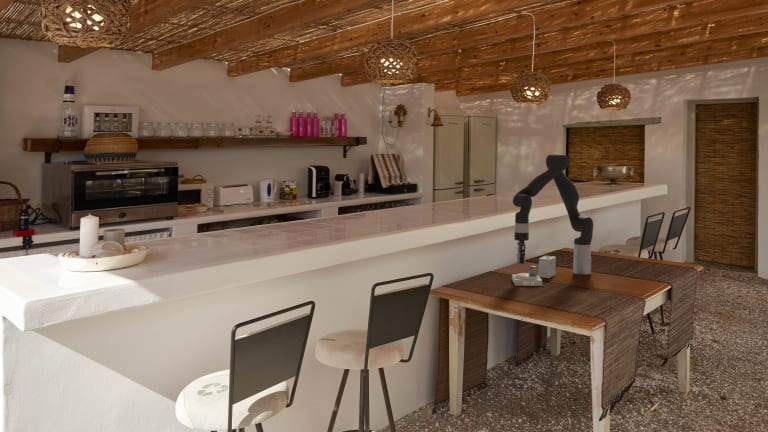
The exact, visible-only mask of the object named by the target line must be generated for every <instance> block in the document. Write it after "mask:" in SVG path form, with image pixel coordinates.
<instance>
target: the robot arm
mask: <svg viewBox="0 0 768 432" xmlns="http://www.w3.org/2000/svg"><path fill="white" fill-rule="evenodd" d="M569 164H570V160H569V157H568V155H566V154H563V153H550V154H548V155H547V156H546V158H545V166H546V168H547V170H546V171H544V172H542V173H540V174H539V175H537V176H536V177H534V179H532V180H531V181H530V182H529V183H528V184H527V185H526V186H525V187H524V188H522V189H521V190H520V191H518V192H517V193H516V194H515V195H514V196H513V198H512V204H513V205H514V207H517V208H520V209H519V211H517V212H515V215H514V217H515V220H514V221H515V223H514V235H513V237H514V240H515V241H517V242H516V246H517V247H516V248H517V249H516V250H517V254H518V253H519V256H520V265H524V264H523V263H524V256H525V257H526V247H527V245H526V242H527V241H529V240H530V239H529V238H530V237H529V235H530V225H529V221H530V220H529V217H530V212H531V209H532V205H533V204H532V203H533V200H532V198H534V197H536V196H537V195H539V193H540V192H541V191H542V190H543V188H545V187H546V186H547V185H548V184H549V183H550V182H551V181H552V180H553V181H554V183H555V185H556V188H557V191H558V192H559V194H560V195H559V196H560V198H561V199H562V202H563V205H564V207H565V210H566V212H567V215H568V218H569V223H570V227H571V228H572V229H573V231H575V232H579V233H580V236H579V237H576V238H574V240H573V265H572V266H573V268H572V269H573V270H572V273H573V274H575V275H584V276H586V275H592V256H591V247H592V239H593V236H594V234H593V232H594V221H593V219H592V217H589V216H585V215H581V214H580V212H579V210H578V204H579V200H580V195H579V193H578V190H577V188H576V185H575V184H574V183H573V182H572V181H571V180H570V178H568V177H567V175H566V174H565V173H564V171H565V170H566V169H567V168H568V166H569ZM521 253H523V254H521Z"/></svg>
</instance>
